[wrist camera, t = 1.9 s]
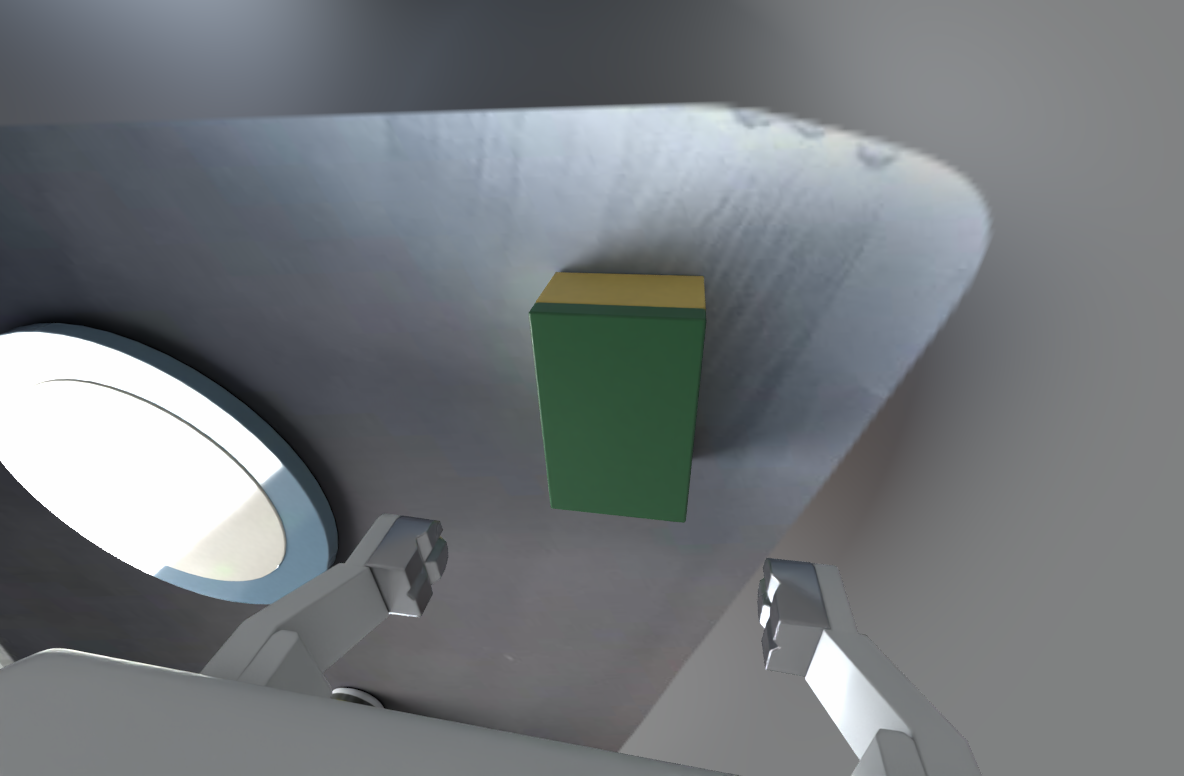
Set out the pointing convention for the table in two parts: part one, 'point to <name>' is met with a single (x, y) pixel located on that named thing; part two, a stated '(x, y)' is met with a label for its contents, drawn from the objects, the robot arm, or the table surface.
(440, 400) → the table surface
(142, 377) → the plate
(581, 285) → the sponge
